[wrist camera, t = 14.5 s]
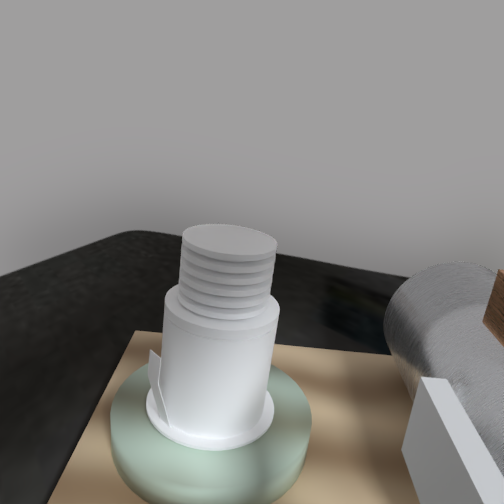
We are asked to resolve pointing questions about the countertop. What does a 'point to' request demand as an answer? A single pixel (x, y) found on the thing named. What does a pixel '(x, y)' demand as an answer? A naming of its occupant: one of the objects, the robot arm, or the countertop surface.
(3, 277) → the countertop surface
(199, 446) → the downlight
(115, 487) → the mounting board
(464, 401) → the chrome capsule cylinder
